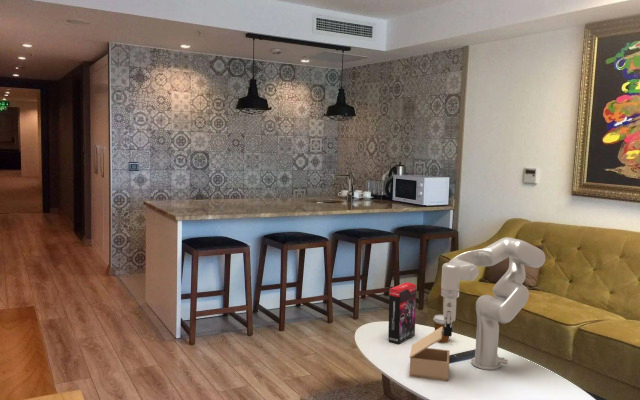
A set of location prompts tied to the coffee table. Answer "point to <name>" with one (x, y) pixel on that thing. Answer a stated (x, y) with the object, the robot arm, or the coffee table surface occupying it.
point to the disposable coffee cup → (439, 323)
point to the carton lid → (427, 341)
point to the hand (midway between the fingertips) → (447, 333)
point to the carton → (430, 364)
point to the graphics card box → (402, 312)
